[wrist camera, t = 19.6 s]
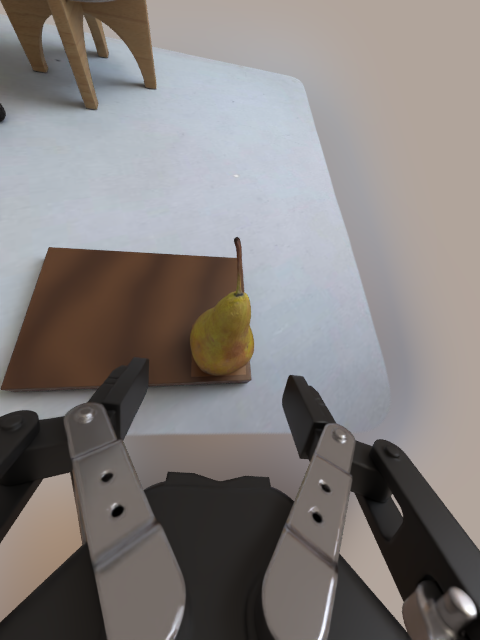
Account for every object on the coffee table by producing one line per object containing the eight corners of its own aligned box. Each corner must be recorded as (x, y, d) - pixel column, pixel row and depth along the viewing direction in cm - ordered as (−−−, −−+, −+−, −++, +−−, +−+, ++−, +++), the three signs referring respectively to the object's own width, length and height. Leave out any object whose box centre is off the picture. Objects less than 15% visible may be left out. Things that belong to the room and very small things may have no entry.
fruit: (176, 356, 21) (151, 287, 10) (214, 312, 23) (228, 217, 12) (225, 394, 20) (257, 364, 9) (259, 344, 22) (316, 275, 12)
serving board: (239, 266, 28) (241, 257, 26) (248, 382, 22) (251, 380, 21) (56, 256, 24) (47, 246, 23) (13, 391, 19) (-2, 389, 17)
